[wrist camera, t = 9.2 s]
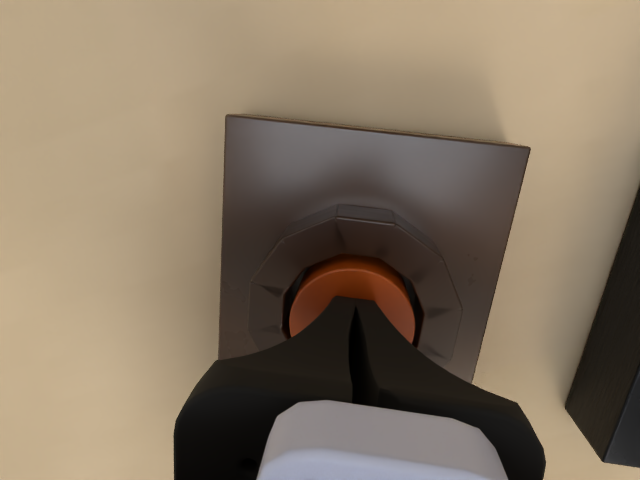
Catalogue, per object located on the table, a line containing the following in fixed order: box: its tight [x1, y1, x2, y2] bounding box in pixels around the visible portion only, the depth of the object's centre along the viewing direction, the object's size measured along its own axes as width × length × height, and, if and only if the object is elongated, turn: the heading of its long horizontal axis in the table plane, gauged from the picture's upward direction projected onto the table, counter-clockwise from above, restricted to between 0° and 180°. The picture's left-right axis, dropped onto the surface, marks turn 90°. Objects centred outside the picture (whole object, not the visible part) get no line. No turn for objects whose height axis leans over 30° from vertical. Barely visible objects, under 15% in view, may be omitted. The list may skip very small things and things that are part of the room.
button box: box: [218, 114, 531, 384], centre depth 15 cm, size 12×10×4 cm
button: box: [289, 254, 415, 344], centre depth 14 cm, size 4×4×2 cm
